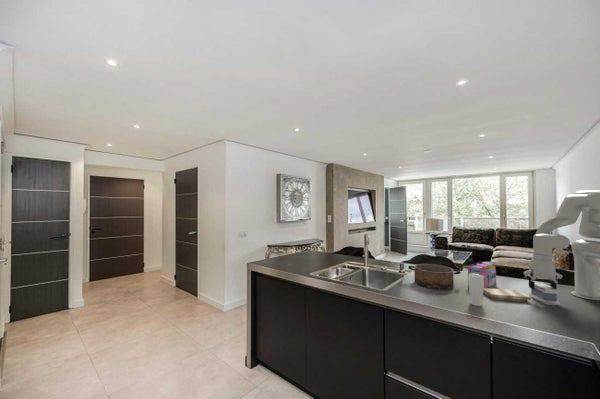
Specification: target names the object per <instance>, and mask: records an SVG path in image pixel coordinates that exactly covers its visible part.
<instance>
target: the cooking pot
mask: <svg viewBox="0 0 600 399" xmlns="http://www.w3.org/2000/svg"><path fill="white" fill-rule="evenodd" d="M407 268H408V270H410V271H413V272H414V283H415V284H416V285H417V286H419V287H422V288H426V289H428V290H436V291H437V290H438V291H447V290H452V289H453V288H454V286H455V285H454V282H455V280H454V275H460V274H461V271H460V270H459V269H453V268H451V267H449V266H445V265H441V264H434V263H433V264H432V263H420V264H415V265H408V267H407Z"/></svg>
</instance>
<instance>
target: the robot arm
mask: <svg viewBox="0 0 600 399" xmlns="http://www.w3.org/2000/svg"><path fill="white" fill-rule="evenodd" d="M580 215H581V219H580V224H579V228H578V233H579V235H580V236H581V237H582V238H587V239H578V240H575V241H573V242H572V243H571V241H570V239H569V238H568V237H567V236H565V235H562V234H553V233H552V232H553V231H554V230H557V229H560V228H564V227H568V226H570V225H573V224H576V222H577V221H578V219H579V217H580ZM532 237H533V238H532V239H533V240H532V241H533V242H532V243H533V244H532V245H533V246H532V249H533V250H532V258H531V259H530V261H529V265H528V266H529V267H528V270H525V271H523V273H522V274H523V276H524V277H525V279H527V281H528V287H529V288H530V290H531V289H535V280H536V279H538V280H539V279H540V280H549V281H550V282H549V286H551V287H553V288H556V289H558V287H557V285H558V284H559V282H560V281H561V280H562V278H563V277H564V276H563V275H562V274H560V273H558V272H556V264H555V262H554V260H553V259H556V256H554V255H553V249H557V250H563V249H564V250H565V249H567V248H569V246H570V244H571V252H572V255H573V261H574V265H573V266H574V290H572V291H570V294H571V295H572V296H575V297H578V298H582V299H586V300H592V301H600V264H599V262H598V261H597V260H600V241H598V240H600V189H583V190H579V191H575V192H574V193H573V194H569V195H566V196H565V197H564V198H563V201H562V202H561V204H560V206H559V208H558V209H557V212H556V214H555V215H554V216H553V217H551V218H549V219H547V220H546V221H544V222H543V223H542V224H541V225H539V227H538V228H537V231H536V232H535V234H534V235H533V236H532ZM589 239H595V240H589ZM596 259H597V260H596Z"/></svg>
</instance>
